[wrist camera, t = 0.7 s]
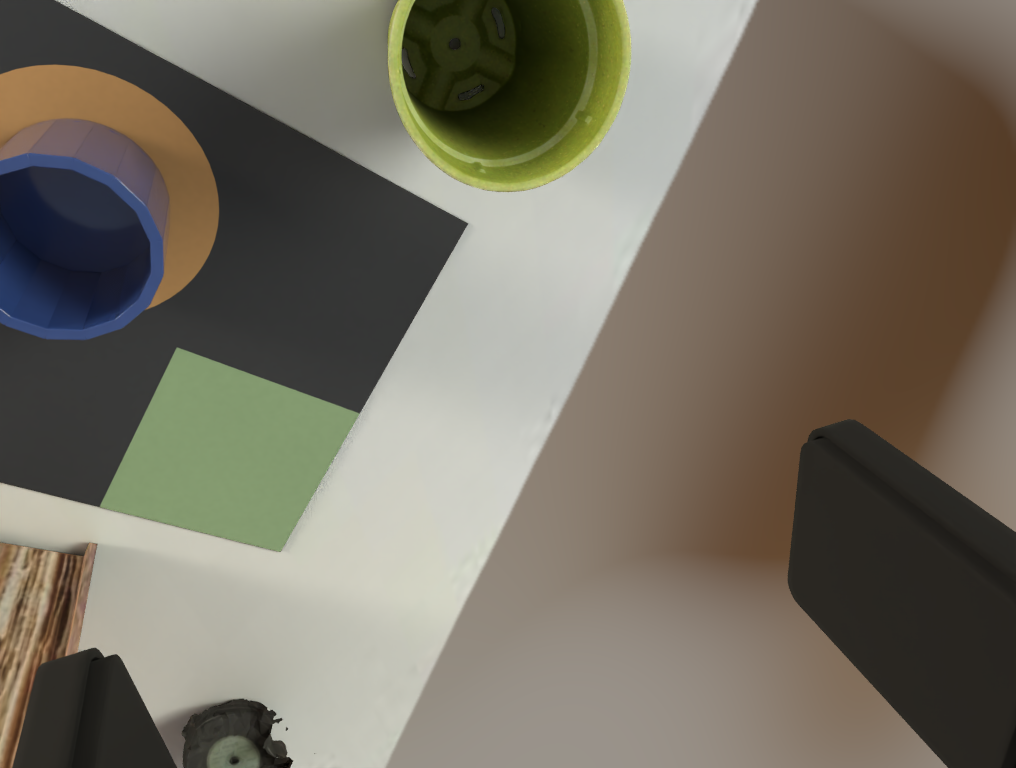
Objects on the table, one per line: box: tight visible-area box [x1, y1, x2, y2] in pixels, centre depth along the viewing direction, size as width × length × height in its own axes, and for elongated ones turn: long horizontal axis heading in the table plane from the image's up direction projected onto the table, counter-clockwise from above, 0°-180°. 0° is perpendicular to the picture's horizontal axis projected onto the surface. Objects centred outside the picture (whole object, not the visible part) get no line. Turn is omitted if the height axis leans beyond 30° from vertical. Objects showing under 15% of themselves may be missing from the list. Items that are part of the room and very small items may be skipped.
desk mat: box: [0, 0, 468, 552], centre depth 37 cm, size 22×22×1 cm
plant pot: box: [388, 0, 631, 192], centre depth 32 cm, size 9×9×9 cm
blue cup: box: [0, 118, 170, 340], centre depth 31 cm, size 7×7×7 cm
